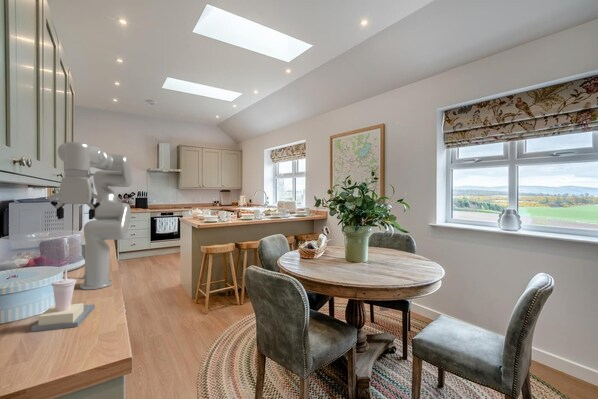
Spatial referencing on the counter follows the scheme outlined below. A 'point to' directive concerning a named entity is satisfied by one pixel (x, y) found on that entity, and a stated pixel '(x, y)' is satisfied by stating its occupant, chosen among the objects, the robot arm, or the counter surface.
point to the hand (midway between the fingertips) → (76, 218)
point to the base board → (65, 325)
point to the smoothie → (63, 292)
